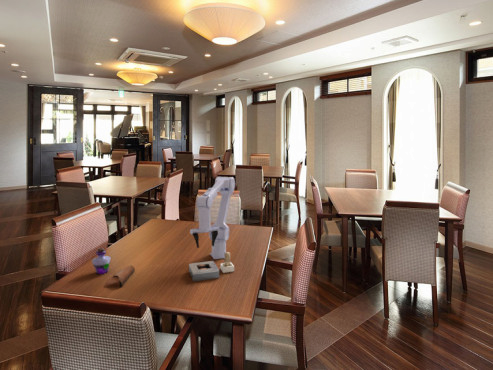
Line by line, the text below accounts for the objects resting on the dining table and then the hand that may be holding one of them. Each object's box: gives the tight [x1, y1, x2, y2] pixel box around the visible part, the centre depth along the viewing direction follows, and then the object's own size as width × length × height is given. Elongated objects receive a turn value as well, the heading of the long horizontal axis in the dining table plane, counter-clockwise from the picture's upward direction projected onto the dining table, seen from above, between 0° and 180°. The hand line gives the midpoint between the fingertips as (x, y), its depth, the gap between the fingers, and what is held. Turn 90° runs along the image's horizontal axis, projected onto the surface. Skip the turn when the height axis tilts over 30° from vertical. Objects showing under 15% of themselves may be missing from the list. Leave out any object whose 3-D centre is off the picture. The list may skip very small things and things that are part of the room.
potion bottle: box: [91, 247, 112, 275], centre depth 163 cm, size 9×9×12 cm
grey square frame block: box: [188, 260, 220, 282], centre depth 160 cm, size 12×12×4 cm
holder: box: [219, 261, 235, 274], centre depth 165 cm, size 6×6×3 cm
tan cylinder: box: [223, 251, 231, 267], centre depth 165 cm, size 3×3×8 cm
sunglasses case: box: [103, 264, 136, 288], centre depth 155 cm, size 18×7×7 cm
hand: (205, 246), depth 169 cm, fingers open, 7 cm apart
